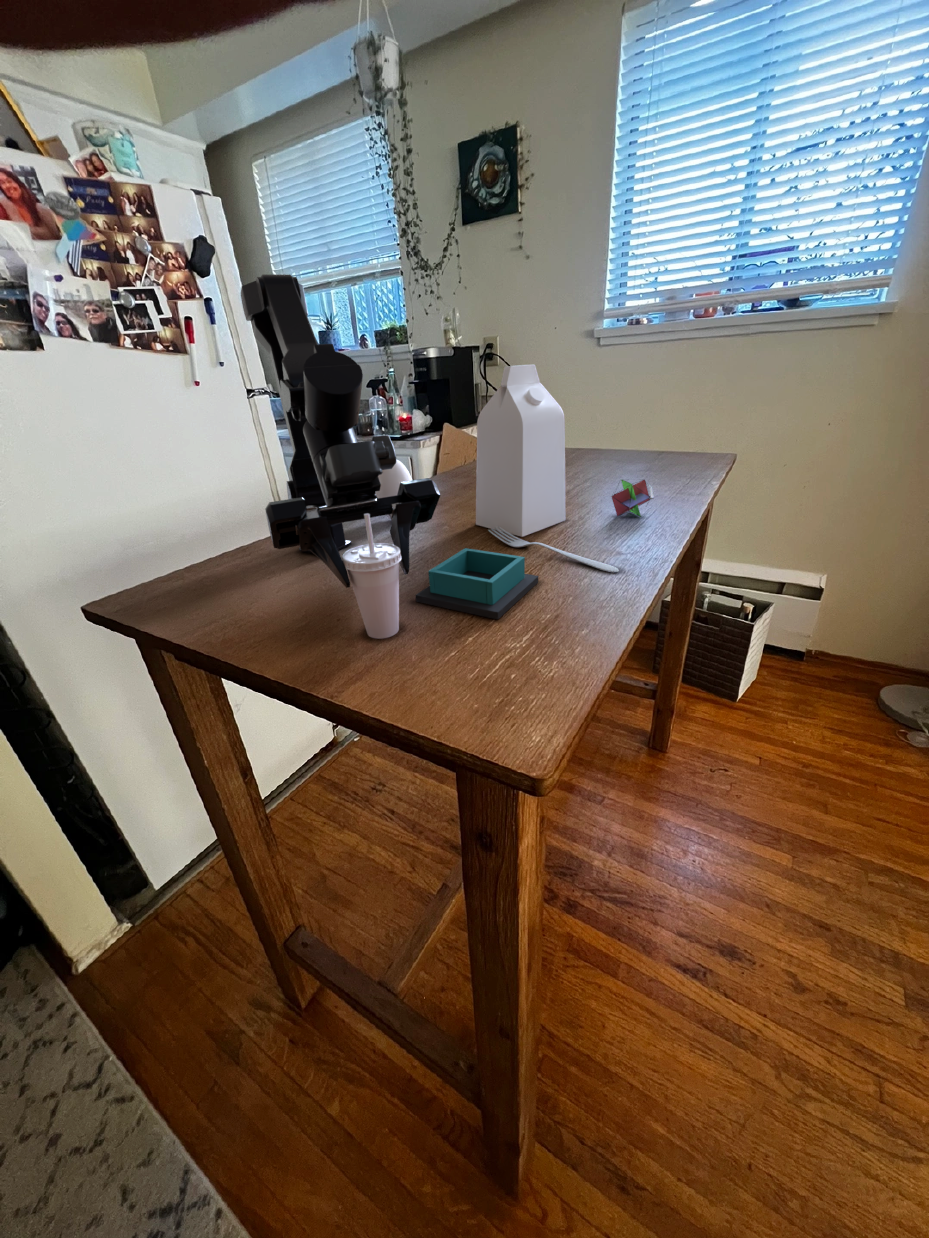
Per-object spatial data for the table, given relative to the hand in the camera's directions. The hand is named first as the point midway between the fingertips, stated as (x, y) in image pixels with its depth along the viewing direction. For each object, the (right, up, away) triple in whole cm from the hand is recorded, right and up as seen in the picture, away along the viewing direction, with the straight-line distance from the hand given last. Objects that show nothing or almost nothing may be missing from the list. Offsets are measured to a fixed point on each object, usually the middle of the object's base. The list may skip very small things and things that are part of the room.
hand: (378, 579), depth 54 cm
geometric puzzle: (+40, +15, +39) cm, 58 cm away
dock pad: (+11, -1, +12) cm, 17 cm away
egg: (-4, +15, +44) cm, 47 cm away
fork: (+23, +6, +24) cm, 33 cm away
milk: (+20, +14, +39) cm, 46 cm away
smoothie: (0, -6, +4) cm, 7 cm away
